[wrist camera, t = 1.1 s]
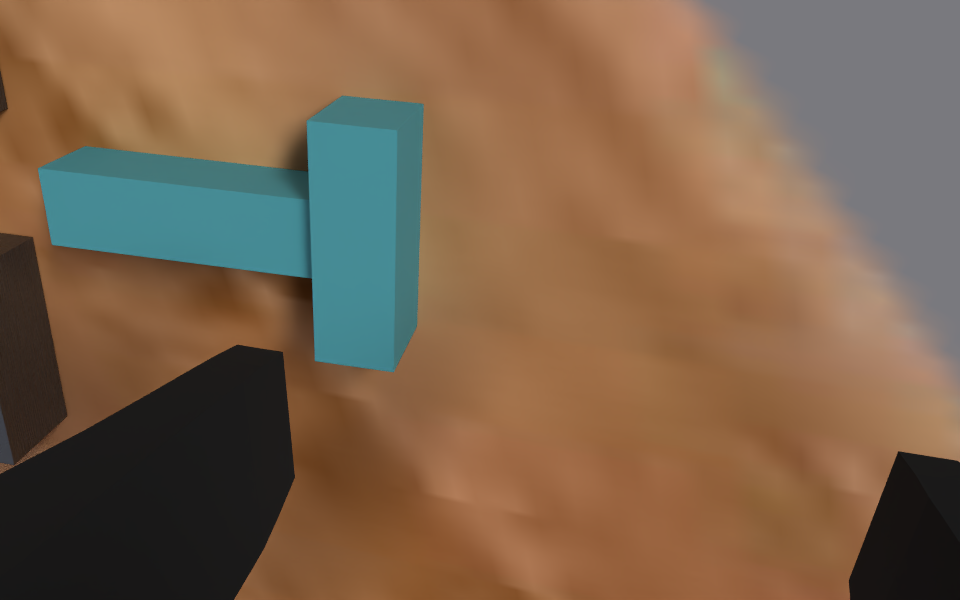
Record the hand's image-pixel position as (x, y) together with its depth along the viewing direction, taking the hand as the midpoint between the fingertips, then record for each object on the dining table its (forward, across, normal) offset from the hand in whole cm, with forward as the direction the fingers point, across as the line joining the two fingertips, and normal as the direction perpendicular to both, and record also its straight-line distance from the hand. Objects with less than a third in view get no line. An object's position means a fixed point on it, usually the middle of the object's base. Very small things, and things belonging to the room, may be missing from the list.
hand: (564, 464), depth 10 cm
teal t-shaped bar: (+11, +9, +2) cm, 14 cm away
